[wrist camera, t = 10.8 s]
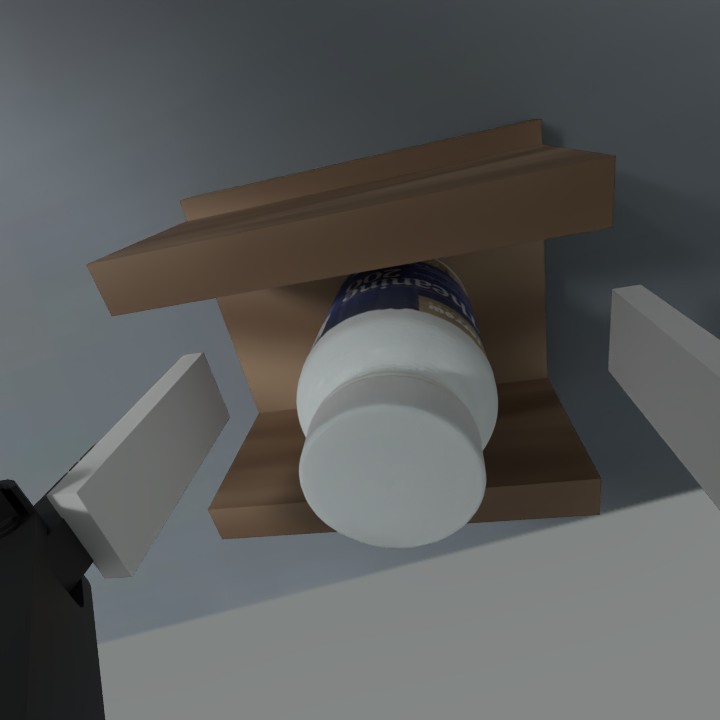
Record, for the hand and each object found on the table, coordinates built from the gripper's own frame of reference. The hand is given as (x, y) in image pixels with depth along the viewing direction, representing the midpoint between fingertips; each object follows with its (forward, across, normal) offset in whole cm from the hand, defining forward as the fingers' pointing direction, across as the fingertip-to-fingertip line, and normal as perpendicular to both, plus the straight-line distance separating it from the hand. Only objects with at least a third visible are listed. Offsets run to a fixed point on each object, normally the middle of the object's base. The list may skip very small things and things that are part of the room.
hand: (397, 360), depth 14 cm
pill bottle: (+4, 0, 0) cm, 4 cm away
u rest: (+5, -1, 0) cm, 5 cm away
